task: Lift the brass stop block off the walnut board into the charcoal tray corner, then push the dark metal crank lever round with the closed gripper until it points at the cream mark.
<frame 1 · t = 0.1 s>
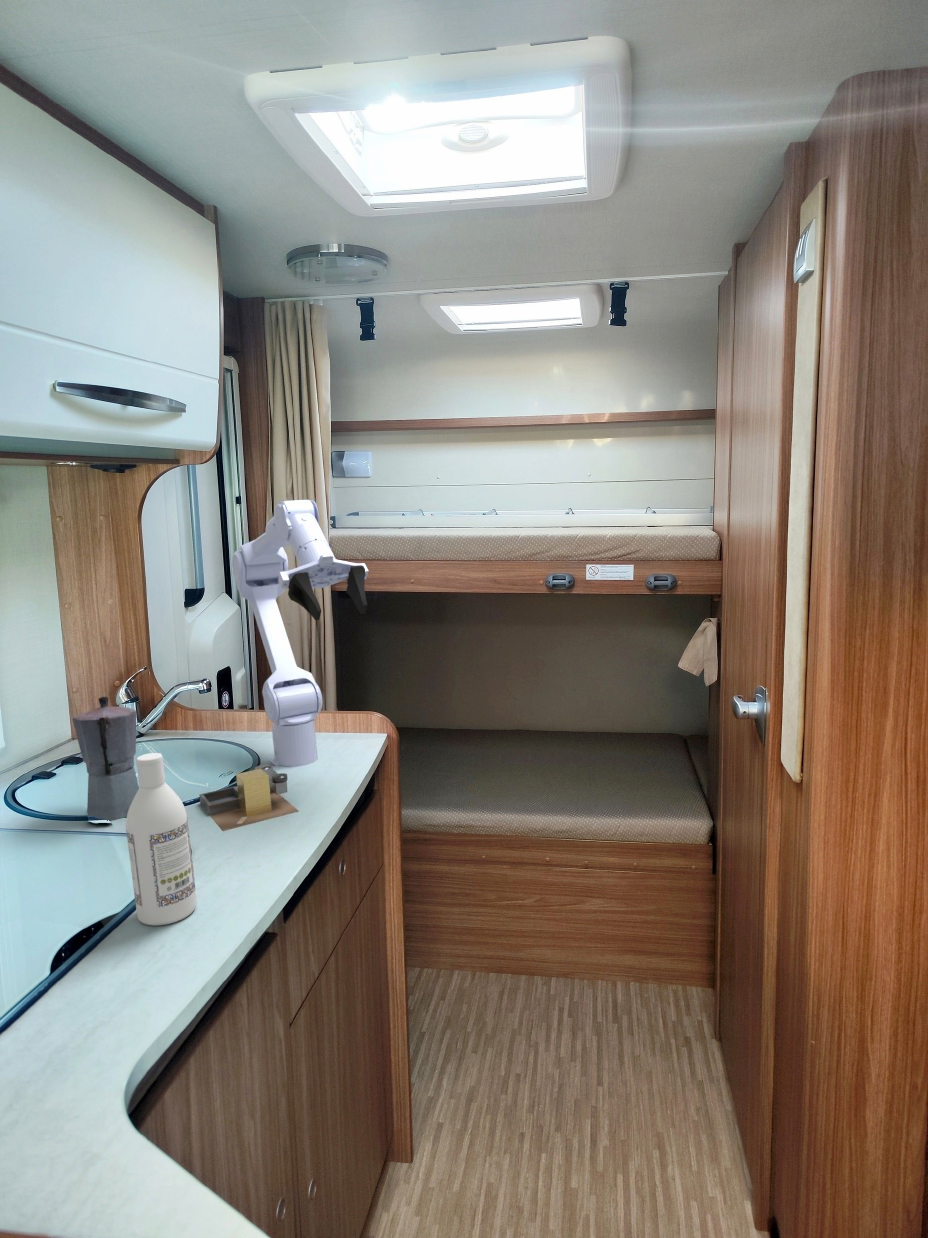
hand: (341, 612, 123), 32 cm above the counter, tool tilted 50°, fingers open, 7 cm apart
bath foam: (168, 914, 97), on the counter
moka pot: (118, 818, 130), on the counter
stop: (255, 810, 126), point 1 cm above the counter, touching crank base
crank: (272, 783, 131), point 4 cm above the counter, hinge at 0.0°
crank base: (249, 813, 128), on the counter
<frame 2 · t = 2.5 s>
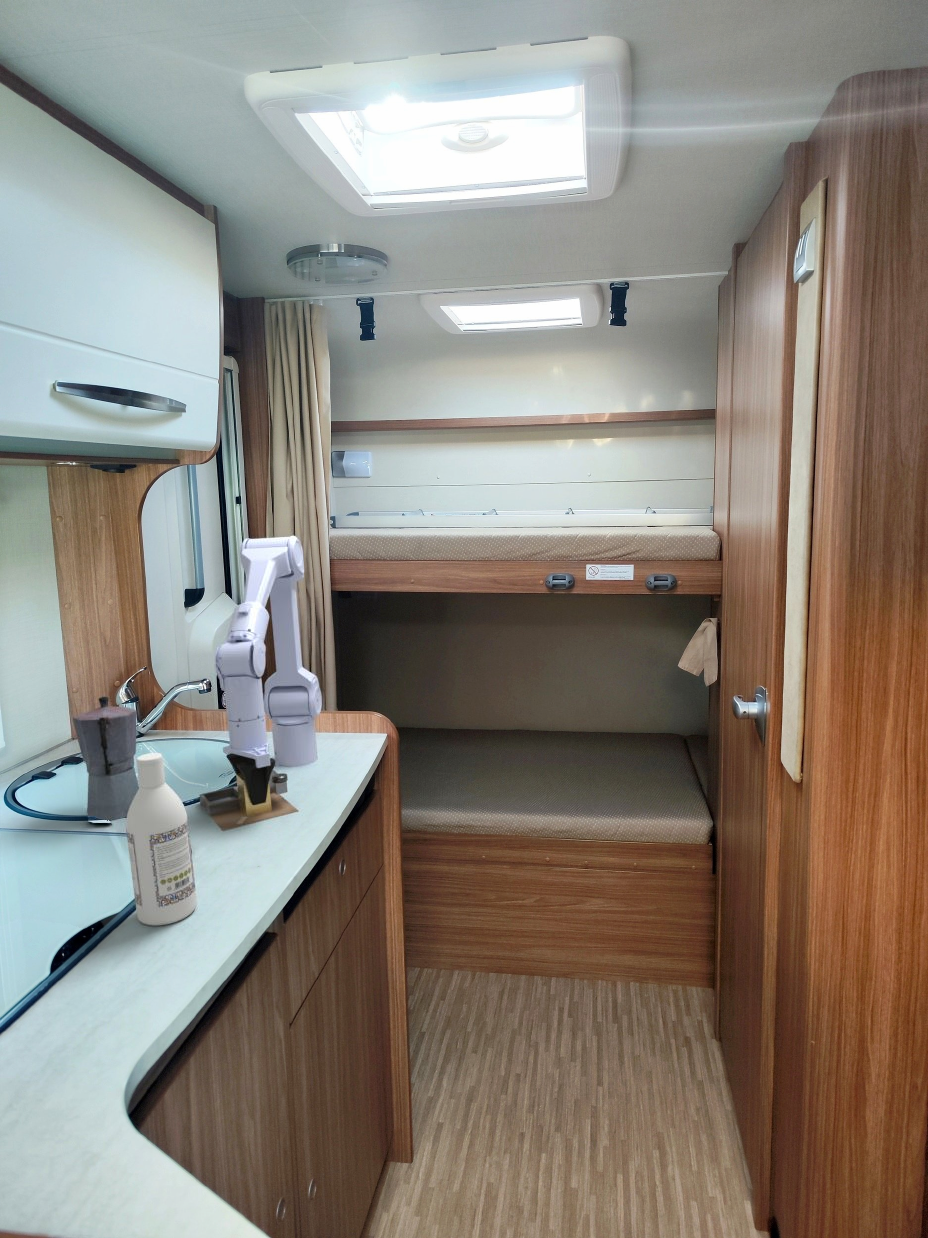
hand: (254, 799, 126), 3 cm above the counter, tool pointing down, fingers closed on stop, 4 cm apart
stop: (255, 810, 126), point 1 cm above the counter, touching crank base, gripper
everything else where it was.
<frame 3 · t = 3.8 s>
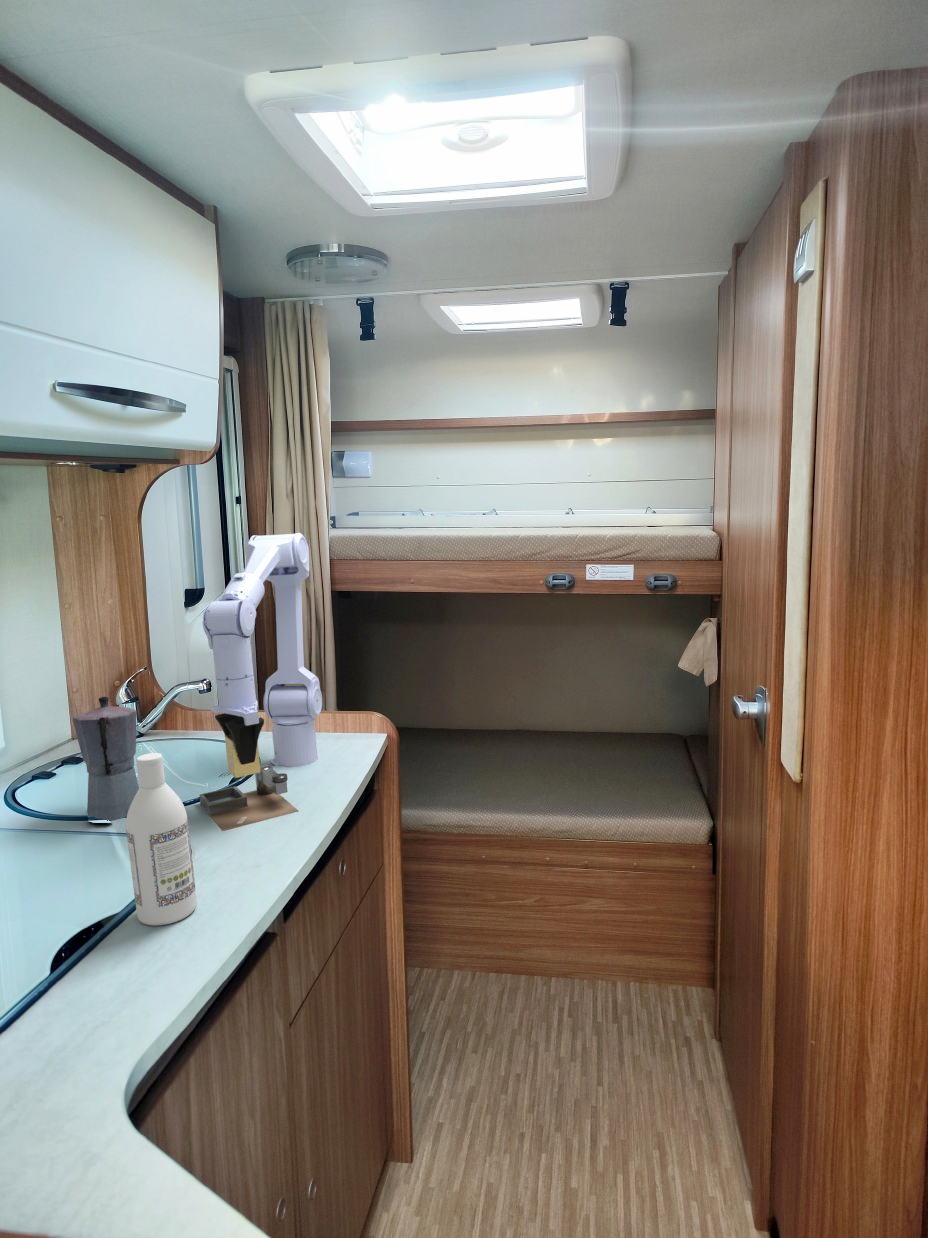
hand: (243, 759, 126), 9 cm above the counter, tool pointing down, fingers closed on stop, 4 cm apart
stop: (244, 771, 126), point 7 cm above the counter, touching gripper
everything else where it was.
when the fingers open (5 cm above the counter, at t = 5.3 s): stop drops 2 cm, resting on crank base.
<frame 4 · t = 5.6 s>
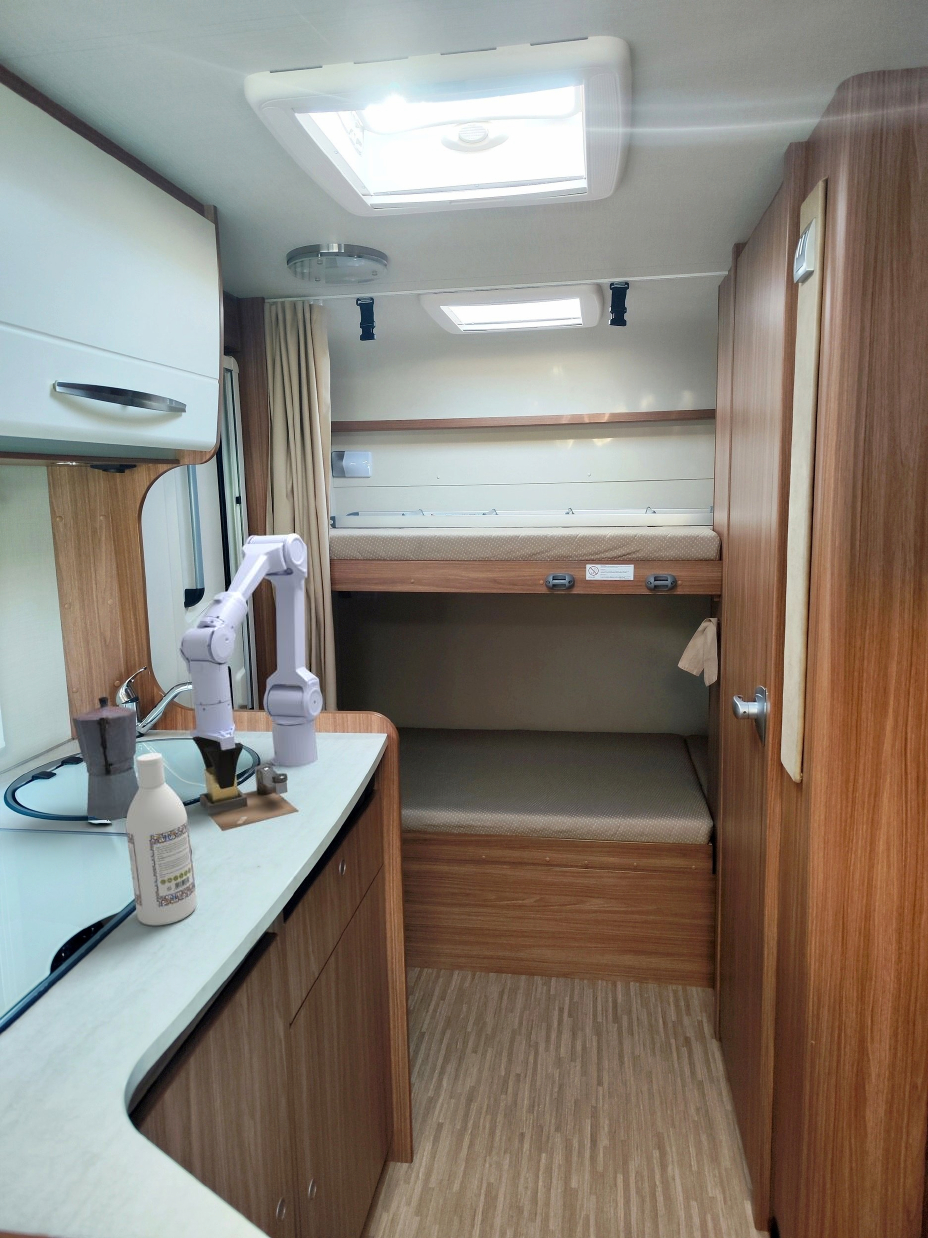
hand: (221, 781, 129), 5 cm above the counter, tool pointing down, fingers open, 6 cm apart
stop: (223, 804, 130), point 1 cm above the counter, touching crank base
everything else where it was.
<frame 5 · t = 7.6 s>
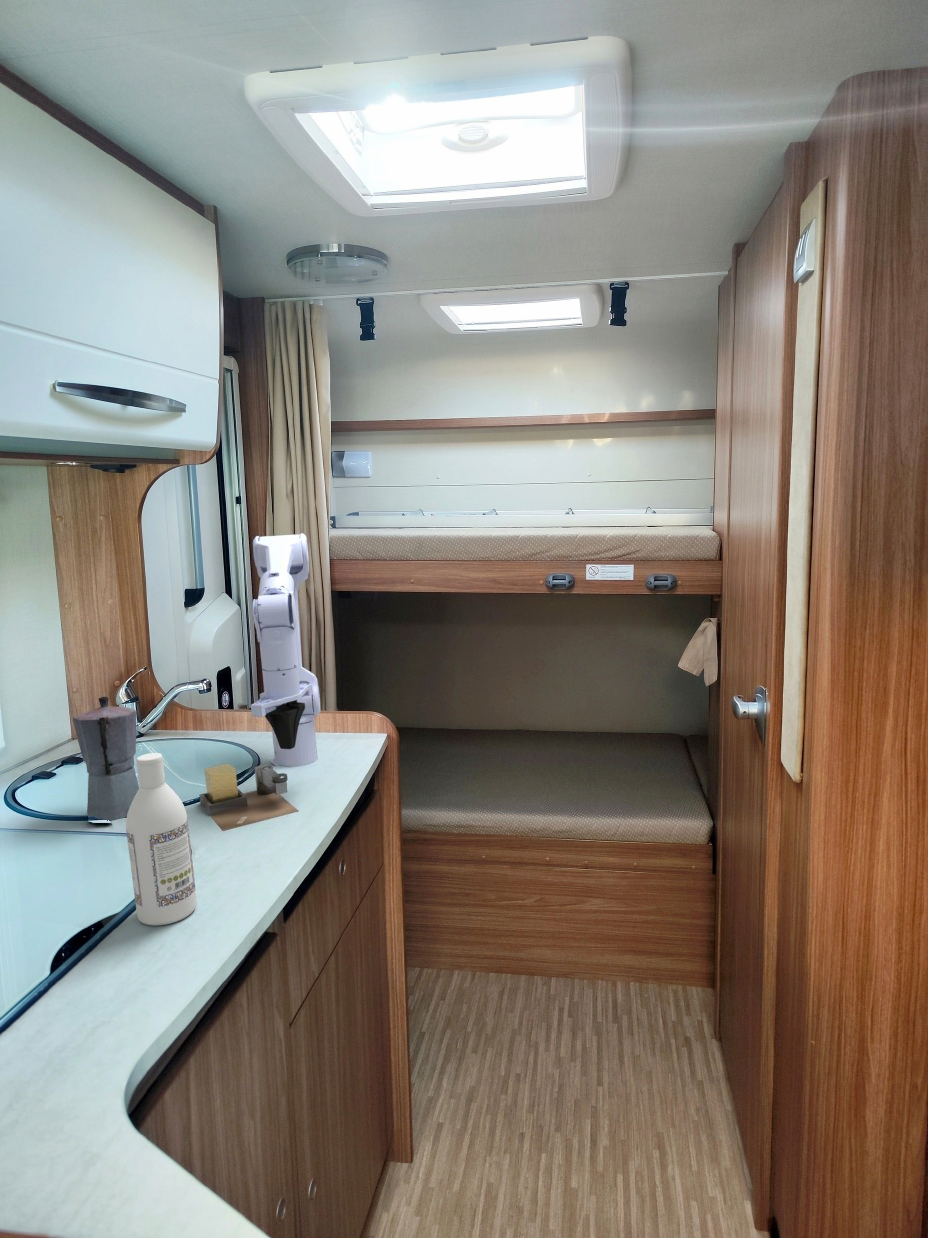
hand: (287, 747, 131), 9 cm above the counter, tool pointing down, fingers closed
nothing on the counter moved.
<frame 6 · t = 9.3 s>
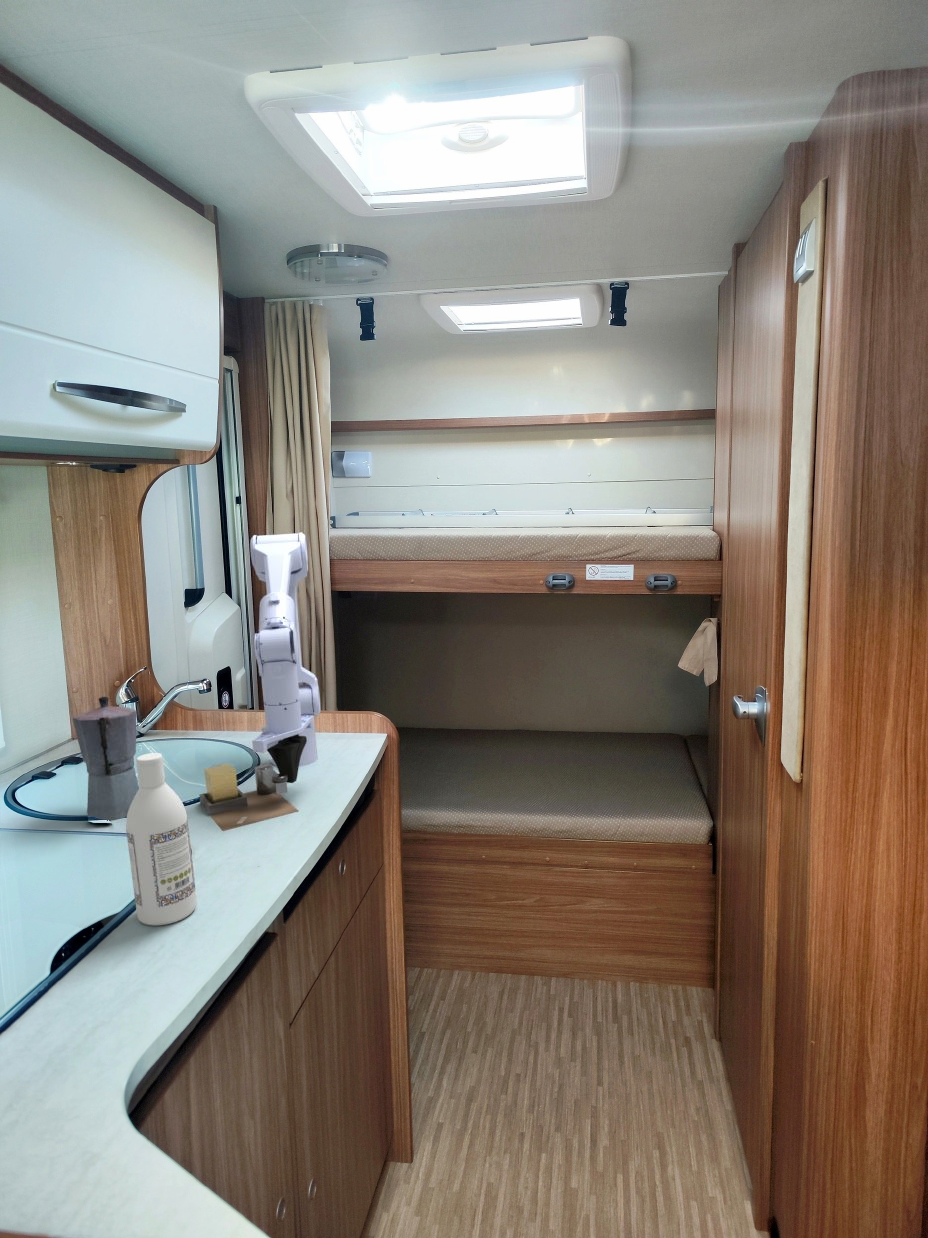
hand: (289, 781, 130), 4 cm above the counter, tool pointing down, fingers closed, pressing on crank
crank: (272, 783, 131), point 4 cm above the counter, hinge at -0.1°, touching gripper
everything else where it was.
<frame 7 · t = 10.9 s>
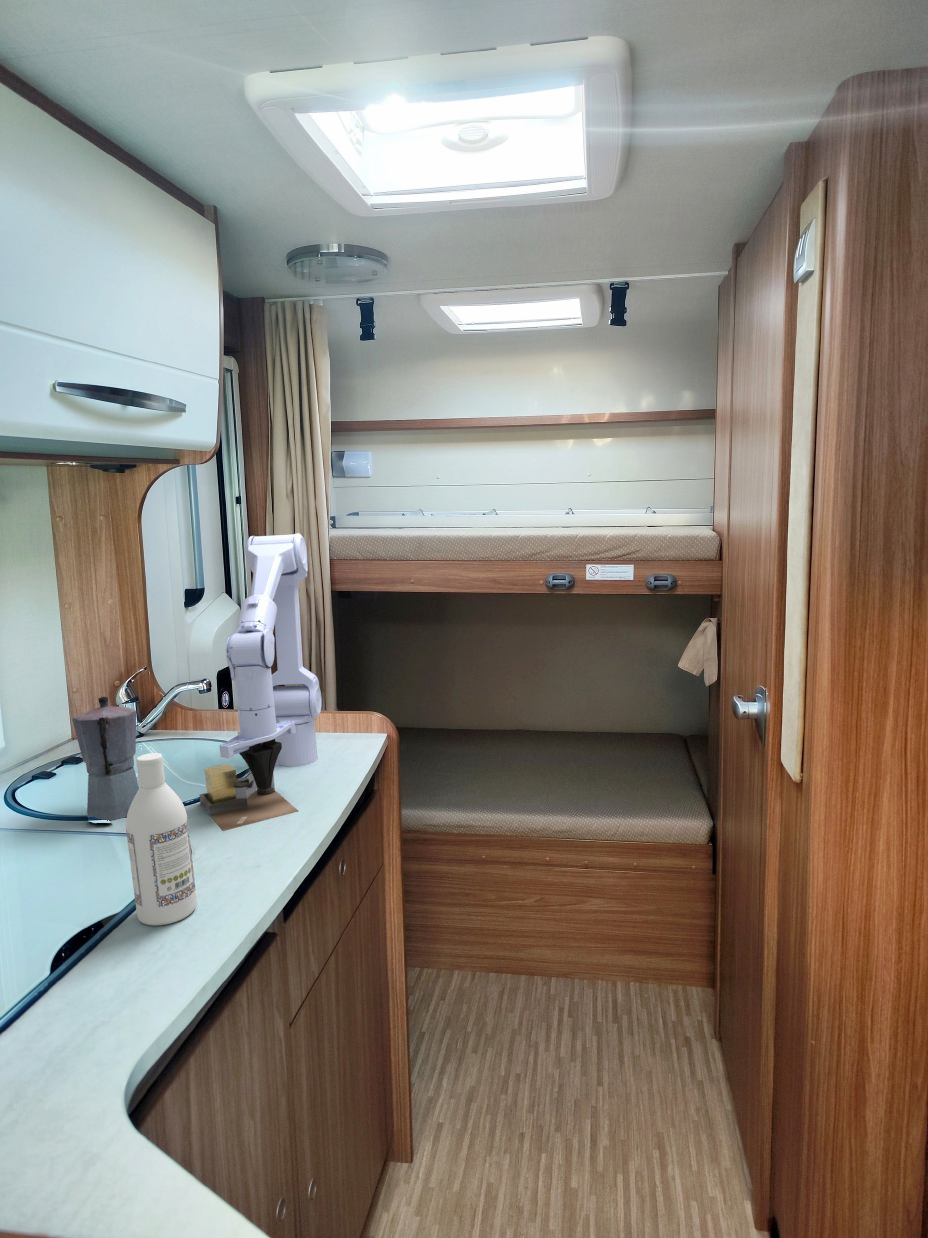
hand: (264, 787, 128), 4 cm above the counter, tool pointing down, fingers closed
crank: (254, 785, 130), point 4 cm above the counter, hinge at -41.3°
everything else where it was.
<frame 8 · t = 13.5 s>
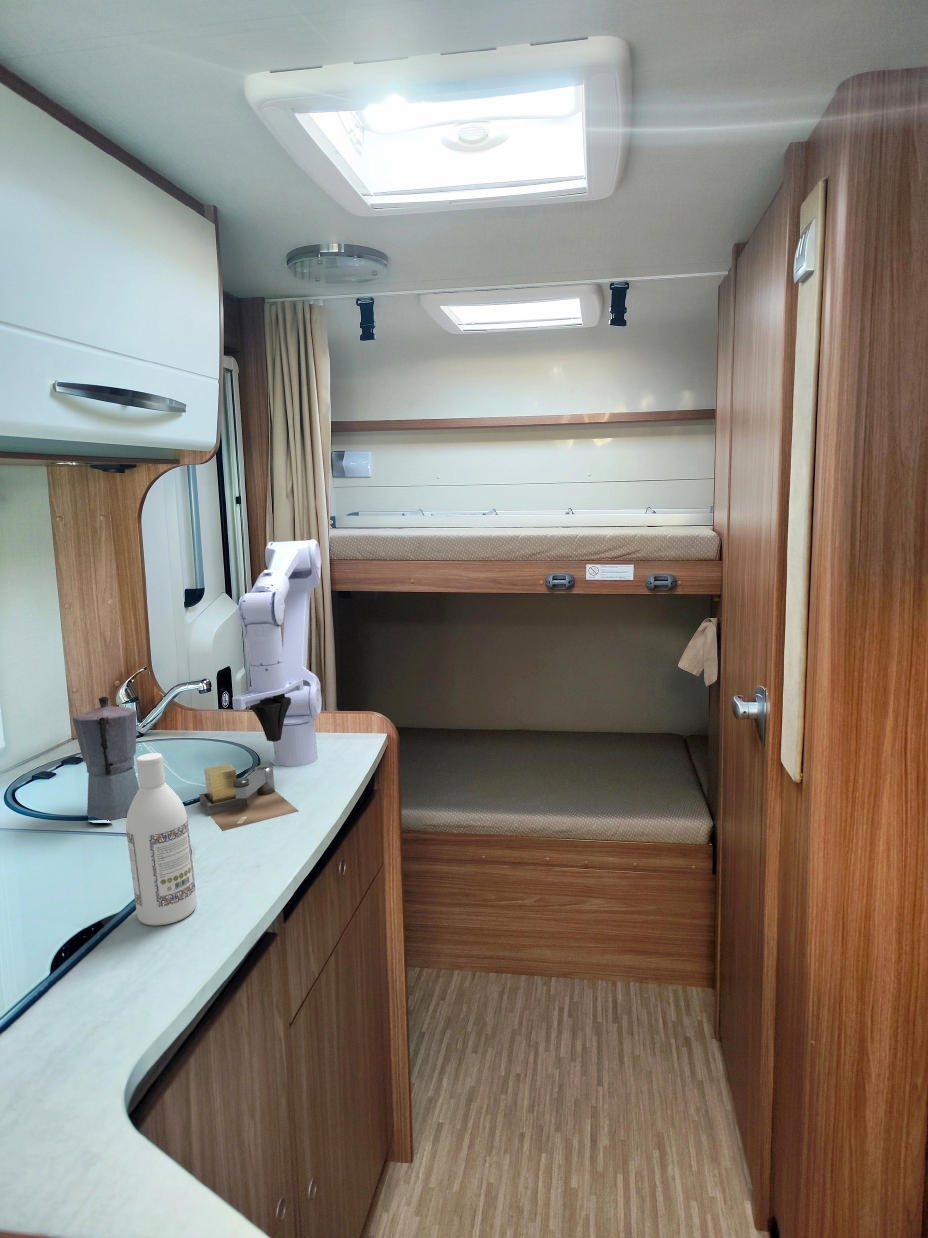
hand: (273, 740, 135), 9 cm above the counter, tool pointing down, fingers closed
nothing on the counter moved.
at the end: stop 0.0 cm from the target spot on the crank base, point 1.1 cm above the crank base's base; stop tilted 0°; crank at -41° (first picture: +0°) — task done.
